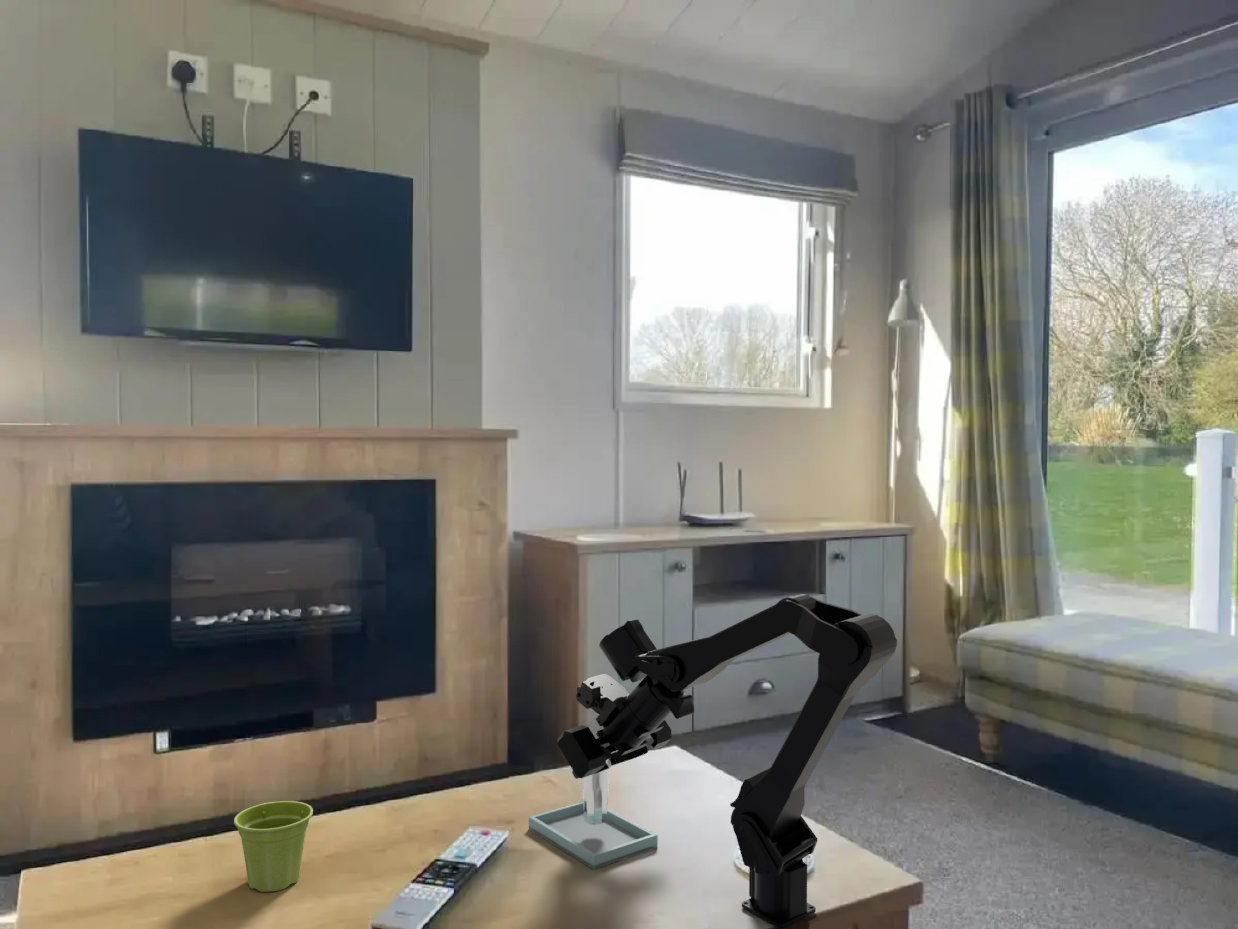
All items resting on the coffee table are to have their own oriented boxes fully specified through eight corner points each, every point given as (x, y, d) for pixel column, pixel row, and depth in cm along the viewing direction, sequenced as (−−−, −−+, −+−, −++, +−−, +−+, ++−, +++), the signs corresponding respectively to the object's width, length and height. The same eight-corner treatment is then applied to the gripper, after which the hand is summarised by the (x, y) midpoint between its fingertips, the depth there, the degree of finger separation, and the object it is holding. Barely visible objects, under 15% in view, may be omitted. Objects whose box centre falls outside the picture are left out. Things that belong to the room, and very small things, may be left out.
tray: (657, 847, 128) (657, 835, 128) (593, 869, 121) (593, 856, 121) (589, 811, 140) (589, 799, 140) (528, 829, 134) (528, 817, 134)
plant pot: (235, 871, 120) (235, 805, 120) (311, 860, 123) (311, 796, 123) (232, 905, 111) (232, 834, 111) (314, 892, 115) (314, 823, 114)
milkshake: (597, 809, 134) (597, 741, 134) (617, 822, 130) (617, 752, 129) (570, 816, 132) (570, 747, 131) (590, 829, 127) (589, 758, 127)
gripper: (655, 649, 135) (599, 710, 142) (566, 672, 121) (510, 739, 128) (699, 712, 130) (639, 772, 137) (612, 744, 116) (550, 809, 123)
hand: (585, 771), depth 131 cm, fingers closed on milkshake, 4 cm apart
